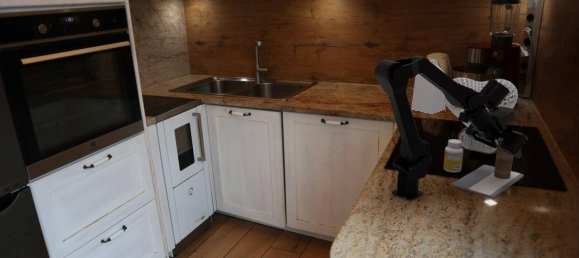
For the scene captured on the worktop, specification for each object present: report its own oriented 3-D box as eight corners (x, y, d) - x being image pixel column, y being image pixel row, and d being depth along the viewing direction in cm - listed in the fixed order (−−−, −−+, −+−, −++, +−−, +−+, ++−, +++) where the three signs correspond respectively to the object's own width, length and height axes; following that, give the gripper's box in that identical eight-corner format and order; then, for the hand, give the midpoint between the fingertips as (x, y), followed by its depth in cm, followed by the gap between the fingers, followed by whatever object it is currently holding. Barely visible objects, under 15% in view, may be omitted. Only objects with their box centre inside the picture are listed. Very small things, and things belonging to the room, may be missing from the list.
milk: (424, 108, 213) (428, 57, 206) (445, 112, 205) (450, 59, 198) (410, 112, 206) (414, 60, 199) (431, 117, 198) (435, 62, 190)
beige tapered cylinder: (509, 180, 124) (515, 139, 121) (492, 177, 127) (498, 136, 123) (510, 175, 128) (516, 134, 124) (494, 172, 130) (499, 132, 127)
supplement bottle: (446, 165, 139) (449, 137, 136) (463, 168, 135) (466, 140, 133) (440, 170, 135) (443, 141, 132) (457, 174, 131) (460, 144, 129)
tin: (501, 154, 147) (504, 132, 145) (498, 157, 145) (501, 134, 143) (458, 146, 157) (461, 124, 155) (455, 148, 155) (457, 126, 153)
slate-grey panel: (493, 198, 115) (493, 196, 114) (451, 185, 123) (451, 183, 123) (523, 176, 129) (523, 174, 128) (484, 166, 137) (484, 164, 137)
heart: (510, 128, 177) (517, 77, 171) (514, 139, 163) (522, 83, 157) (440, 123, 187) (445, 74, 181) (439, 132, 173) (443, 80, 167)
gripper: (527, 106, 111) (552, 141, 117) (477, 93, 128) (502, 124, 134) (499, 137, 111) (526, 170, 117) (453, 120, 128) (479, 150, 134)
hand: (508, 152), depth 125 cm, fingers open, 9 cm apart
